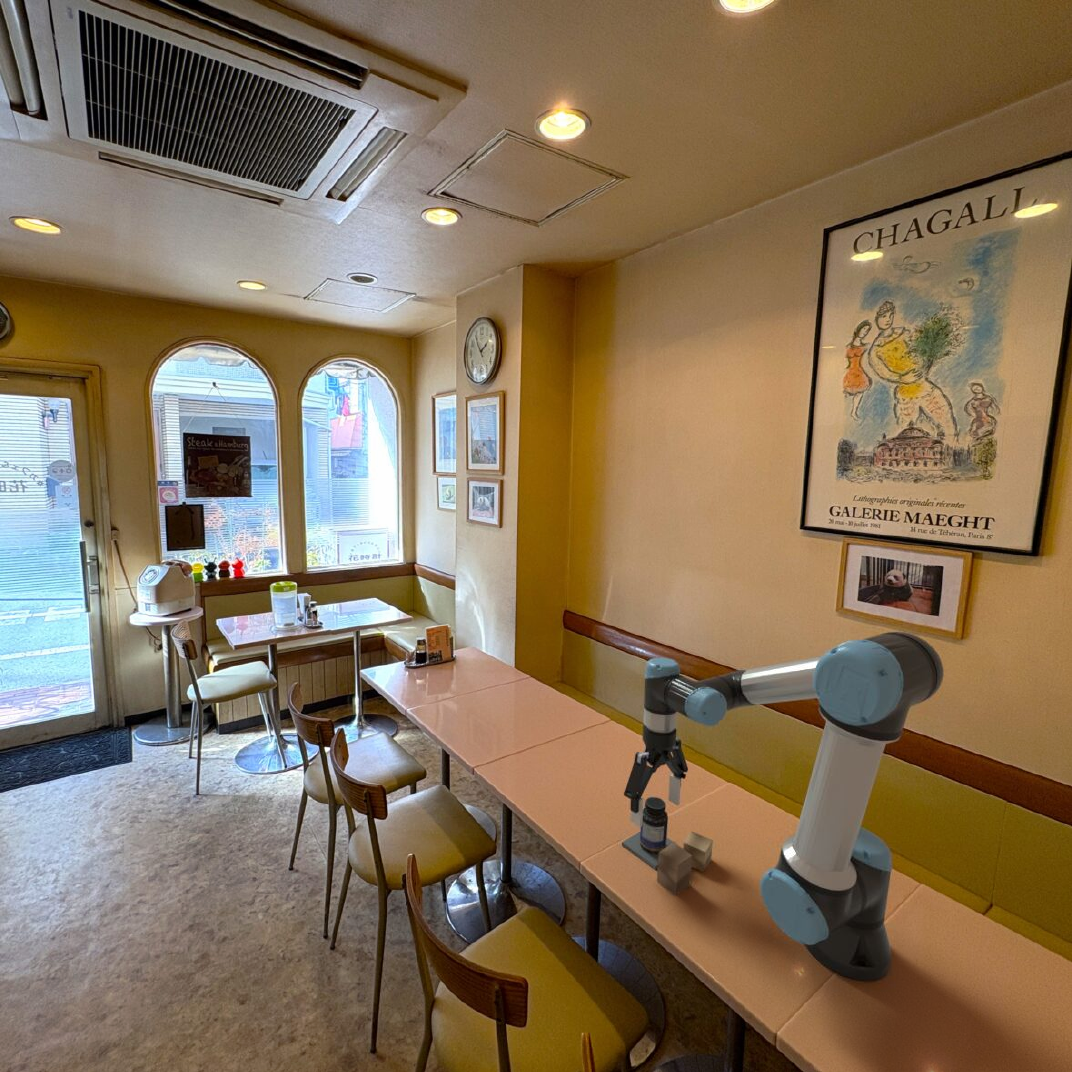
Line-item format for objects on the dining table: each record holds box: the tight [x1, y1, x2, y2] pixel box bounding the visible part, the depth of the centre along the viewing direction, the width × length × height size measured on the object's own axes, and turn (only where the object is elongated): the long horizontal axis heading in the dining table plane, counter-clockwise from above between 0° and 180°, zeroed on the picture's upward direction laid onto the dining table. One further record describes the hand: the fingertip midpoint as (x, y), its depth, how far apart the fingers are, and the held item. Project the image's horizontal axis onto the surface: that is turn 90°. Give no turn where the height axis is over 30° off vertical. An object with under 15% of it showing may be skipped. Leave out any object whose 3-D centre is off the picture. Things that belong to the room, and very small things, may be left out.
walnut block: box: [656, 842, 692, 896], centre depth 123 cm, size 5×5×7 cm
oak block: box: [682, 831, 714, 872], centre depth 130 cm, size 5×5×5 cm
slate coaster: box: [621, 831, 683, 870], centre depth 134 cm, size 10×10×1 cm
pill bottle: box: [639, 796, 669, 854], centre depth 133 cm, size 6×6×11 cm
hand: (655, 812), depth 132 cm, fingers open, 13 cm apart
